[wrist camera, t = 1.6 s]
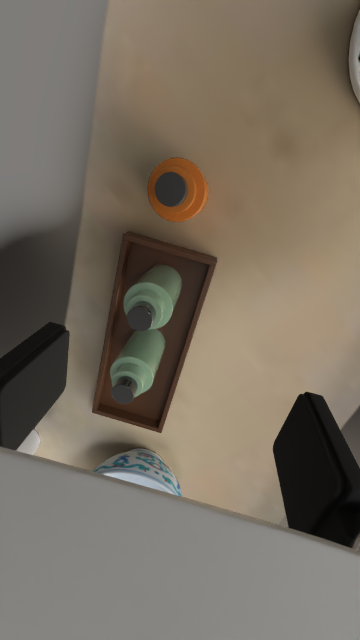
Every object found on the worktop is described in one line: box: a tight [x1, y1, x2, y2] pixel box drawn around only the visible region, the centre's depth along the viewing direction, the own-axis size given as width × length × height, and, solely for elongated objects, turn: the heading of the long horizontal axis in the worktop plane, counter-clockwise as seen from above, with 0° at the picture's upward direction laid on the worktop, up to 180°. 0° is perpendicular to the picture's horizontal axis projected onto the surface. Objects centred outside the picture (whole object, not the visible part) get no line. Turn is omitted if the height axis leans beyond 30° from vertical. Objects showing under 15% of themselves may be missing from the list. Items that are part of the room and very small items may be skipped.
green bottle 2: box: [110, 329, 165, 404], centre depth 31 cm, size 5×5×10 cm
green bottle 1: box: [124, 265, 182, 331], centre depth 28 cm, size 5×5×10 cm
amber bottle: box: [148, 158, 208, 222], centre depth 24 cm, size 5×5×10 cm
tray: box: [92, 232, 217, 433], centre depth 35 cm, size 25×10×2 cm, turn 165°
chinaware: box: [93, 448, 182, 497], centre depth 42 cm, size 15×15×8 cm
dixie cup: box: [16, 429, 40, 455], centre depth 42 cm, size 8×8×10 cm
